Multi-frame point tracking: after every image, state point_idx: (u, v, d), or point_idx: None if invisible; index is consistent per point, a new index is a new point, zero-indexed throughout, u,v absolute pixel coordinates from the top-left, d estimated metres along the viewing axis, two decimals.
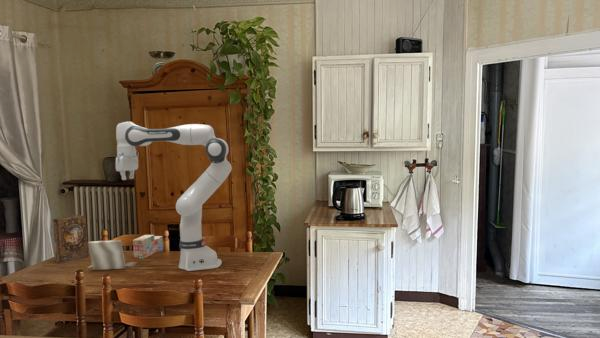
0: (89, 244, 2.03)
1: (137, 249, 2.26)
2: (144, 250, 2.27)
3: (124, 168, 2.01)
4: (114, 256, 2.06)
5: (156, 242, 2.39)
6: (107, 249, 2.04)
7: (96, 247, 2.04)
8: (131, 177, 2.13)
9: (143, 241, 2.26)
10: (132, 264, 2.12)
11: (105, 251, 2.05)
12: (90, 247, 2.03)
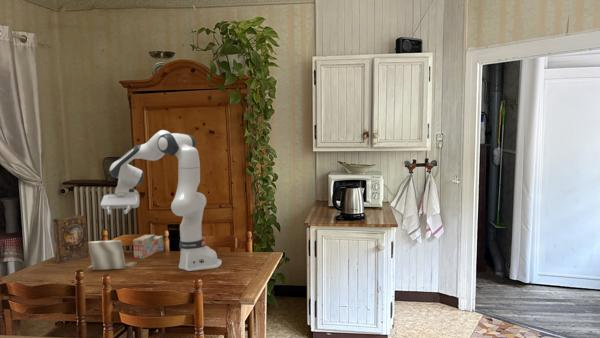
0: (89, 244, 2.03)
1: (137, 249, 2.26)
2: (144, 250, 2.27)
3: (104, 203, 2.23)
4: (114, 256, 2.06)
5: (156, 242, 2.39)
6: (107, 249, 2.04)
7: (96, 247, 2.04)
8: None
9: (143, 241, 2.26)
10: (132, 264, 2.12)
11: (105, 251, 2.05)
12: (90, 247, 2.03)
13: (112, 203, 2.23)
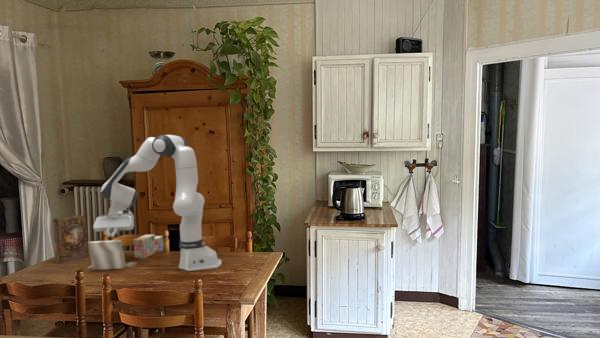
0: (89, 244, 2.03)
1: (138, 249, 2.27)
2: (145, 250, 2.27)
3: (97, 226, 2.13)
4: (114, 256, 2.06)
5: (156, 242, 2.39)
6: (107, 249, 2.04)
7: (96, 247, 2.04)
8: None
9: (144, 241, 2.26)
10: (132, 264, 2.12)
11: (105, 251, 2.05)
12: (90, 247, 2.03)
13: (105, 225, 2.13)
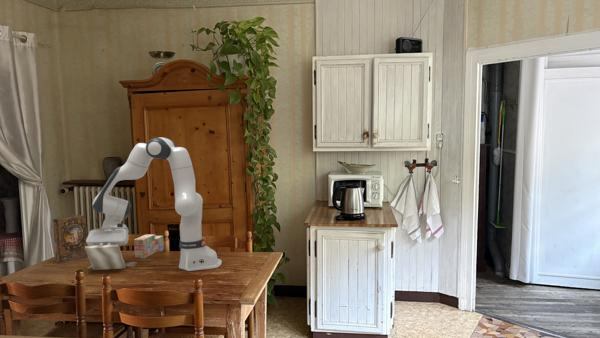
0: (86, 249, 1.99)
1: (138, 249, 2.27)
2: (145, 250, 2.28)
3: (90, 240, 2.05)
4: (113, 259, 2.04)
5: (157, 242, 2.40)
6: (105, 253, 2.02)
7: (94, 251, 2.01)
8: None
9: (144, 241, 2.27)
10: (132, 264, 2.12)
11: (103, 255, 2.02)
12: (87, 251, 2.00)
13: (98, 240, 2.06)
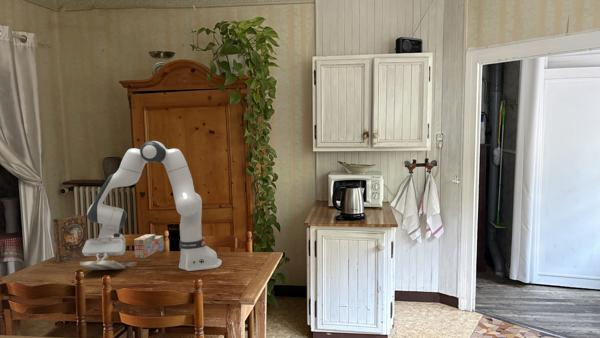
0: (81, 265, 1.94)
1: (138, 249, 2.27)
2: (145, 249, 2.28)
3: (86, 250, 2.01)
4: (112, 267, 2.02)
5: (157, 242, 2.40)
6: (102, 265, 1.98)
7: (90, 265, 1.96)
8: None
9: (144, 240, 2.27)
10: (132, 264, 2.12)
11: (100, 266, 1.99)
12: (83, 265, 1.96)
13: (95, 250, 2.01)
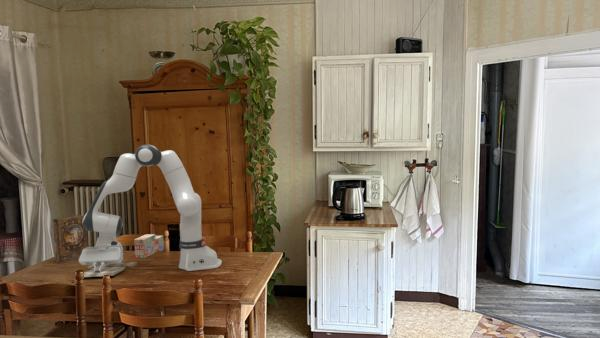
0: None
1: (138, 249, 2.27)
2: (145, 249, 2.28)
3: (82, 259, 1.97)
4: None
5: (157, 241, 2.40)
6: None
7: None
8: None
9: (144, 240, 2.27)
10: (132, 264, 2.12)
11: None
12: None
13: (92, 259, 1.97)
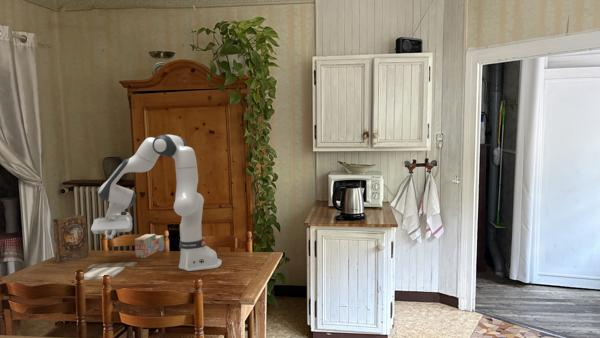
0: None
1: (139, 248, 2.28)
2: (146, 249, 2.29)
3: (94, 228, 2.10)
4: None
5: (157, 241, 2.41)
6: None
7: None
8: None
9: (145, 240, 2.28)
10: (132, 264, 2.12)
11: None
12: None
13: (103, 227, 2.10)
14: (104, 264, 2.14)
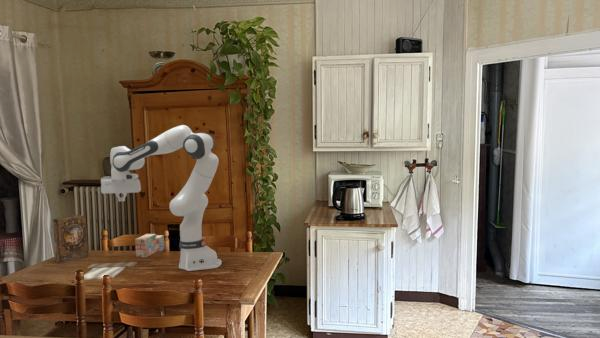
0: None
1: (139, 248, 2.28)
2: (146, 249, 2.29)
3: (104, 191, 2.15)
4: None
5: (157, 241, 2.41)
6: None
7: None
8: None
9: (145, 240, 2.28)
10: (132, 264, 2.12)
11: None
12: None
13: (113, 191, 2.15)
14: (104, 264, 2.14)
